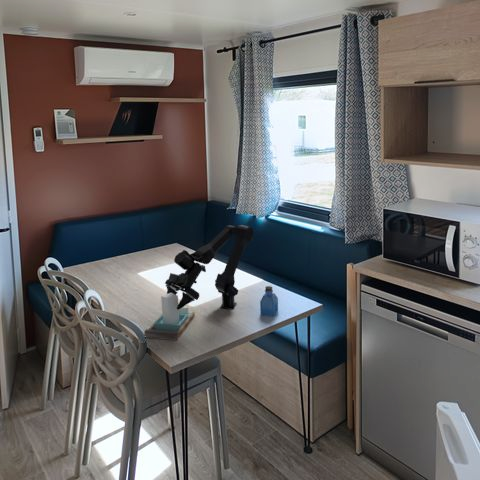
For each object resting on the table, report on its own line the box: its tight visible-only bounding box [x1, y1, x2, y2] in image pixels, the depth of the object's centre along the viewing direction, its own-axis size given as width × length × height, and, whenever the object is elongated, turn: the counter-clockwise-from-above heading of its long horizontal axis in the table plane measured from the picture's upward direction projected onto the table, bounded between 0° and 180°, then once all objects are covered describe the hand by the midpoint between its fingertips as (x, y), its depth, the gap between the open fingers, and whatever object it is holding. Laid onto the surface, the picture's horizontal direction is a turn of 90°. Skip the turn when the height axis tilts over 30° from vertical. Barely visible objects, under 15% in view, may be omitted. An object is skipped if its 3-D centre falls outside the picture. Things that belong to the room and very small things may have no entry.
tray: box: [153, 306, 192, 331], centre depth 219 cm, size 17×11×4 cm, turn 168°
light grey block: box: [160, 293, 180, 324], centre depth 215 cm, size 5×5×12 cm
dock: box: [144, 311, 196, 341], centre depth 216 cm, size 24×14×3 cm, turn 168°
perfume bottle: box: [259, 285, 279, 317], centre depth 226 cm, size 6×6×12 cm
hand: (171, 306), depth 215 cm, fingers open, 9 cm apart
